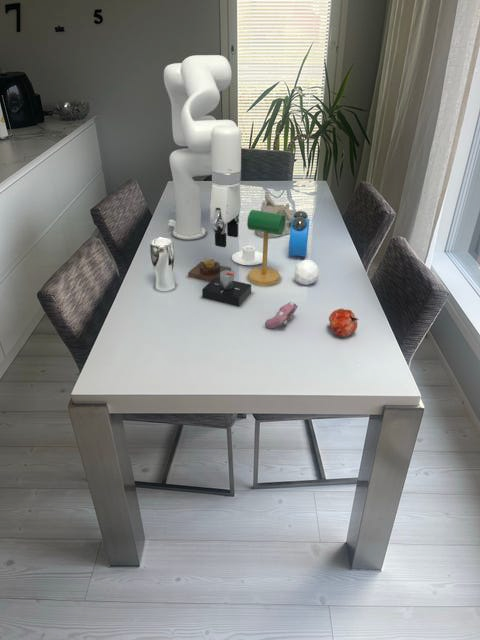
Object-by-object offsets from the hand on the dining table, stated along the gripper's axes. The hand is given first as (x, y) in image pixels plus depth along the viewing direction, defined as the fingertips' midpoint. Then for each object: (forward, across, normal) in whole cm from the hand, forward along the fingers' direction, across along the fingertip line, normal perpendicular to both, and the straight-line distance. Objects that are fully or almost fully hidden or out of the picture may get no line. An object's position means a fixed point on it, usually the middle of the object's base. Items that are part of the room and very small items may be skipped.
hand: (226, 240), depth 129 cm
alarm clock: (+18, -37, +10) cm, 42 cm away
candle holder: (+18, -26, -4) cm, 32 cm away
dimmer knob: (+15, 0, 0) cm, 15 cm away
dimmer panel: (+18, 0, 0) cm, 18 cm away
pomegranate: (+18, +5, +36) cm, 41 cm away
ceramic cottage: (+18, -55, -5) cm, 58 cm away
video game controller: (+18, +7, +20) cm, 28 cm away
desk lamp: (+18, -15, +6) cm, 24 cm away
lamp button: (+15, -10, -11) cm, 21 cm away
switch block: (+18, -10, -11) cm, 23 cm away
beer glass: (+18, +3, -20) cm, 27 cm away
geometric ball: (+18, -18, +19) cm, 32 cm away
